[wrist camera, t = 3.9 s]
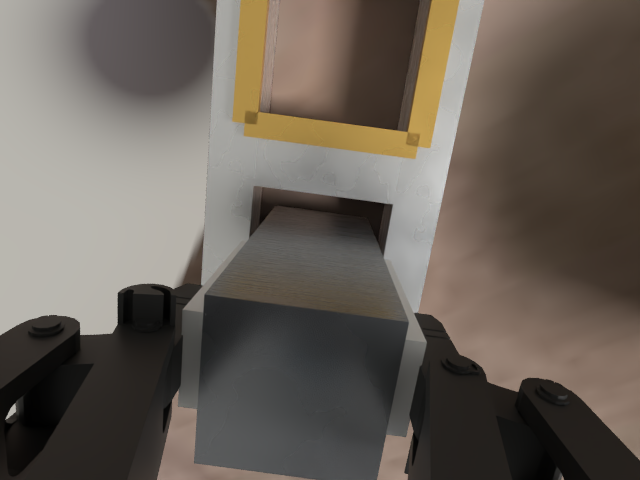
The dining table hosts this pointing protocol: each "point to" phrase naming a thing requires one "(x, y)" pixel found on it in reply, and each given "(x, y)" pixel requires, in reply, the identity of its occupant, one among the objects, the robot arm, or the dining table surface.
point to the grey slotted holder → (335, 137)
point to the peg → (301, 351)
